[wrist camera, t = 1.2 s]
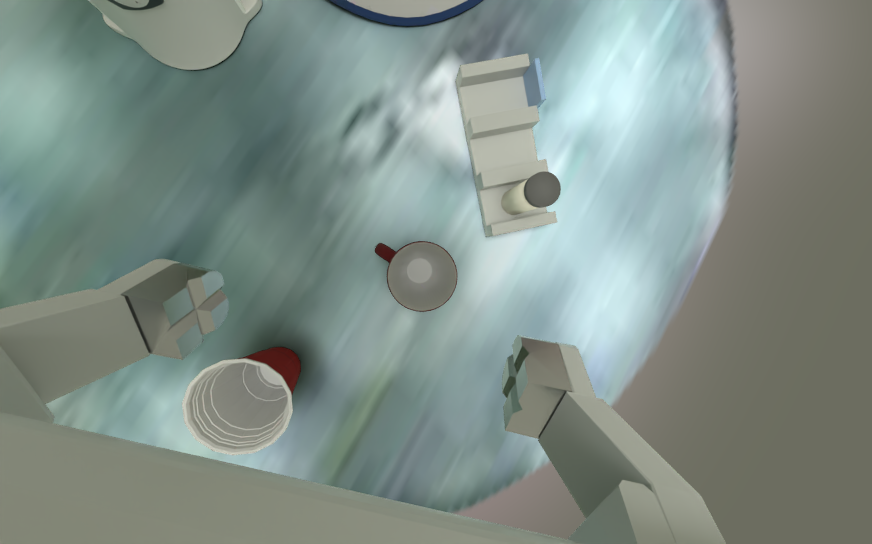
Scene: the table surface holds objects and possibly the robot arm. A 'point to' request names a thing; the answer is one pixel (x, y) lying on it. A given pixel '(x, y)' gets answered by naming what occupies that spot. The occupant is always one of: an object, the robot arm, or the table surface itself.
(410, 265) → the mug
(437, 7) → the sun hat
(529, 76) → the stepped cream block
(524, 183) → the grey-capped cream cylinder
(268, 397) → the plastic cup
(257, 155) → the table surface
